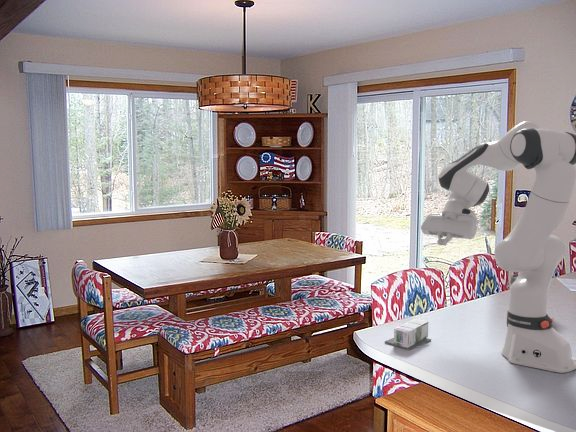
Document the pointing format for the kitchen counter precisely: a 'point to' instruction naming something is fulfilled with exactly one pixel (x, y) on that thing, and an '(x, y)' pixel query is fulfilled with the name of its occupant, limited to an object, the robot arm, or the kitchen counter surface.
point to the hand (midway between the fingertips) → (441, 244)
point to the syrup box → (410, 333)
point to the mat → (426, 340)
